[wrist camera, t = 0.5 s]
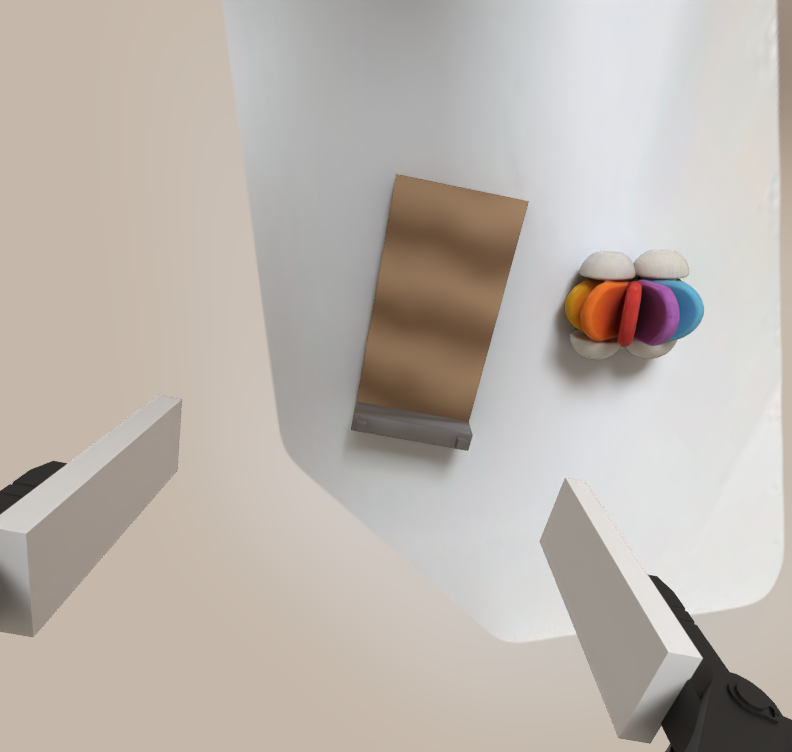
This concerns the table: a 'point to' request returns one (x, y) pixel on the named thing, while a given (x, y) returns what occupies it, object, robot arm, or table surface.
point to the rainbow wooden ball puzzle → (632, 304)
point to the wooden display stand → (435, 310)
